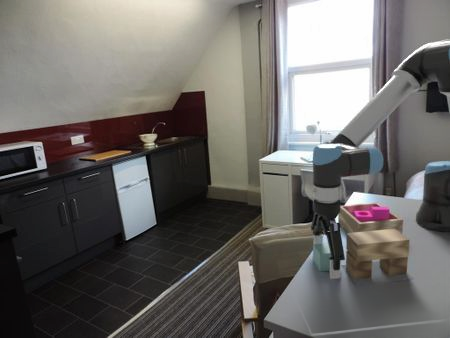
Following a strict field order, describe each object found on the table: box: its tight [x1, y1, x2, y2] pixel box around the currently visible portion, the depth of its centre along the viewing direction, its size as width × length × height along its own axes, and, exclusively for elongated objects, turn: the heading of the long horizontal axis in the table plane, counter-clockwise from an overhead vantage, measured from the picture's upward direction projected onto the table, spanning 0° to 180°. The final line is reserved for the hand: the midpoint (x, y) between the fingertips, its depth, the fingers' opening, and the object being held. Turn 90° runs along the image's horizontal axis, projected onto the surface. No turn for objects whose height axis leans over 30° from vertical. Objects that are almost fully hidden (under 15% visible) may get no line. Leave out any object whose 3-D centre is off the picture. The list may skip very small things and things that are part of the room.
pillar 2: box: [379, 256, 409, 276], centre depth 91 cm, size 5×5×6 cm
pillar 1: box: [345, 250, 373, 279], centre depth 90 cm, size 5×5×6 cm
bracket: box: [353, 206, 390, 222], centre depth 116 cm, size 12×10×10 cm
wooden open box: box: [337, 201, 404, 235], centre depth 116 cm, size 15×17×7 cm
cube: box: [312, 242, 331, 272], centre depth 96 cm, size 6×6×6 cm
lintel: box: [345, 229, 410, 262], centre depth 89 cm, size 14×7×5 cm, turn 93°
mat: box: [340, 260, 415, 286], centre depth 91 cm, size 16×10×1 cm, turn 93°
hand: (325, 265), depth 97 cm, fingers open, 13 cm apart
